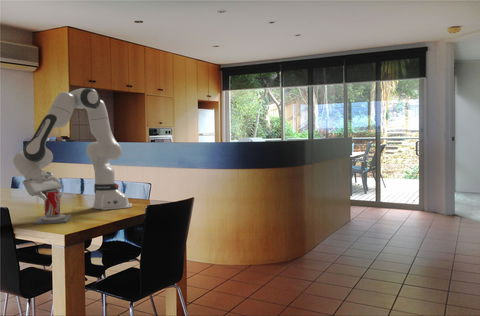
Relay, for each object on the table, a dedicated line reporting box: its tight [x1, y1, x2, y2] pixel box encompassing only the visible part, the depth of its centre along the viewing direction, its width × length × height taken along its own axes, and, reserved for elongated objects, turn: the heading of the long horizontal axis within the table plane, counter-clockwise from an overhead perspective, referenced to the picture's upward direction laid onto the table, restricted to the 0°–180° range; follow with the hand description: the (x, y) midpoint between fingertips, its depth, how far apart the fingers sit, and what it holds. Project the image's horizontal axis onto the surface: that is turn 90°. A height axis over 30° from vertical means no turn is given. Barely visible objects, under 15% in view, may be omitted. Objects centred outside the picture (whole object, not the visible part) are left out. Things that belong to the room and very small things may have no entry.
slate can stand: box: [33, 213, 72, 225], centre depth 212 cm, size 15×15×2 cm
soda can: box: [43, 190, 61, 217], centre depth 212 cm, size 7×7×13 cm
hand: (53, 198), depth 212 cm, fingers open, 8 cm apart
